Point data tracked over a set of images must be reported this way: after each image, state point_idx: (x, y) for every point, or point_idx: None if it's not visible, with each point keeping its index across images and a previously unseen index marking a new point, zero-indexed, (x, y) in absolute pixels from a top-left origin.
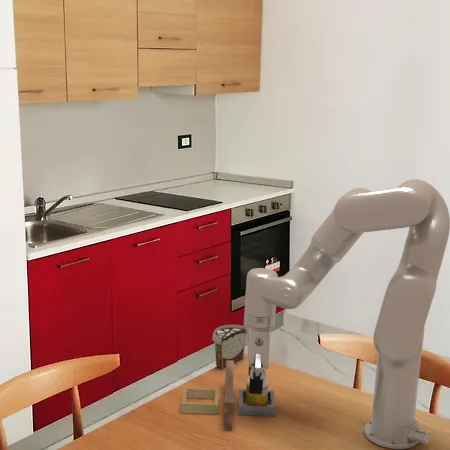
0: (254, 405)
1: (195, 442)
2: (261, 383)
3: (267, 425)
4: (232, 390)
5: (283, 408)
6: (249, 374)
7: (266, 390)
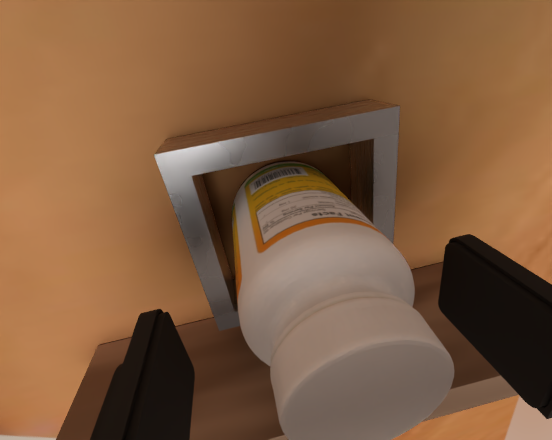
0: (385, 228)
1: None
2: (548, 295)
3: (455, 127)
4: (473, 385)
5: (261, 59)
6: (192, 377)
7: (353, 211)
